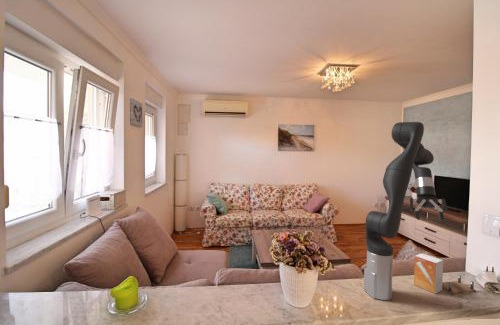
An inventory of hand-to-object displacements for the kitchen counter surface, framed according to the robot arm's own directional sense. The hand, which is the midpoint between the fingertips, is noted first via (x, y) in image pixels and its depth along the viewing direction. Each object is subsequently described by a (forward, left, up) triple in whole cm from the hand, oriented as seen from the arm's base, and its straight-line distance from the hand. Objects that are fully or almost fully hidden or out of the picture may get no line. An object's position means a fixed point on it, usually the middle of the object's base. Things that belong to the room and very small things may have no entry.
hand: (429, 220), depth 108 cm
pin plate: (+3, -10, -27) cm, 29 cm away
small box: (-9, -8, -27) cm, 30 cm away
